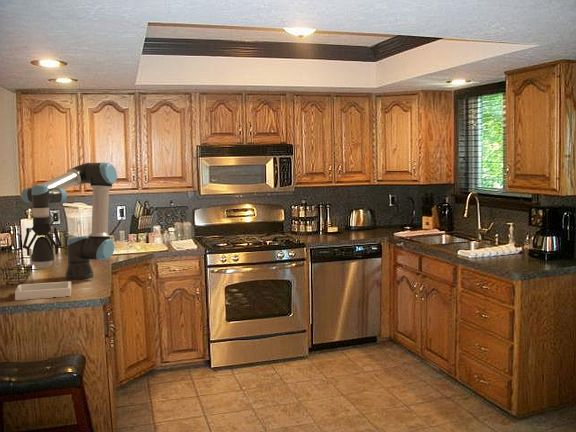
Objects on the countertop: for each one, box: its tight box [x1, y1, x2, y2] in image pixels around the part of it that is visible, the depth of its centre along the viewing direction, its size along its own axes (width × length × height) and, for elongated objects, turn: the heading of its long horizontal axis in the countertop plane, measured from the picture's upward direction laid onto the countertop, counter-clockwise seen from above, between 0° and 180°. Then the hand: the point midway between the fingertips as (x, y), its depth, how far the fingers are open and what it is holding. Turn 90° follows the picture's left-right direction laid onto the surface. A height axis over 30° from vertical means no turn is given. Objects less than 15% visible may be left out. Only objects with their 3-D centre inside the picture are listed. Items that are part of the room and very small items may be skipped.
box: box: [14, 280, 72, 301], centre depth 291 cm, size 24×18×4 cm
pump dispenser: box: [31, 236, 54, 269], centre depth 289 cm, size 10×10×15 cm
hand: (42, 261), depth 290 cm, fingers closed on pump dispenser, 10 cm apart
